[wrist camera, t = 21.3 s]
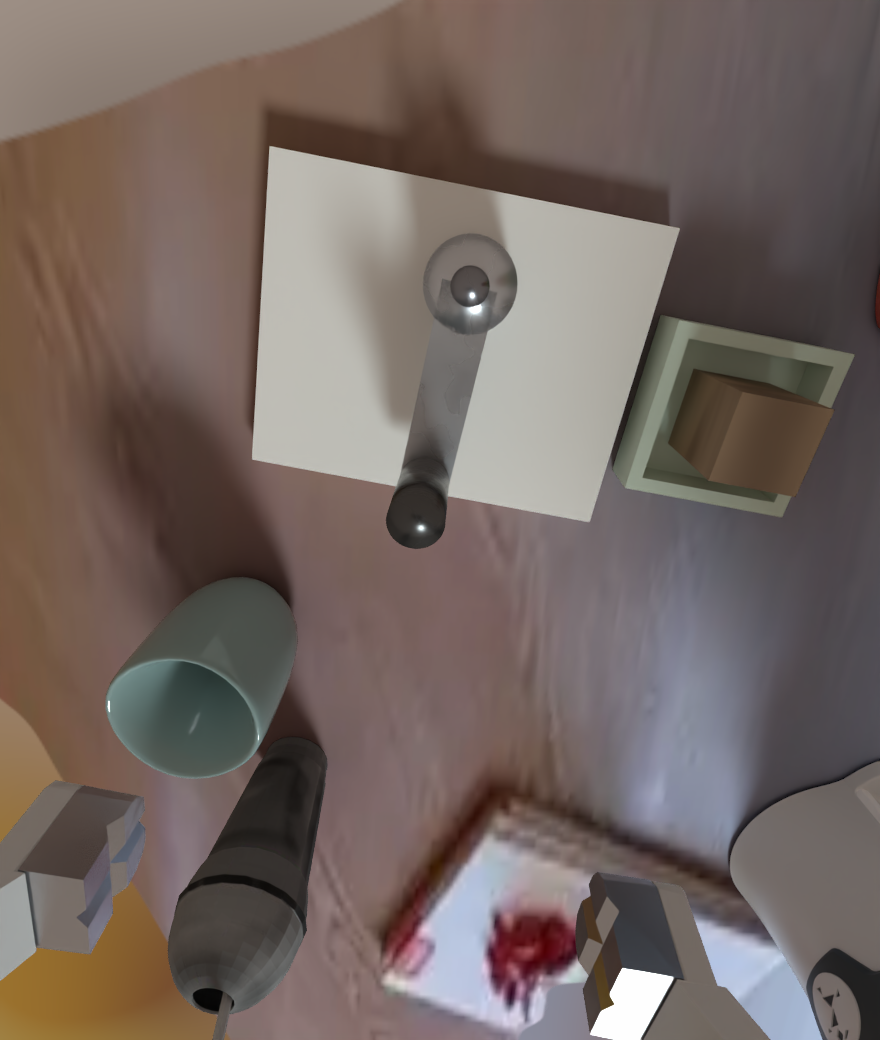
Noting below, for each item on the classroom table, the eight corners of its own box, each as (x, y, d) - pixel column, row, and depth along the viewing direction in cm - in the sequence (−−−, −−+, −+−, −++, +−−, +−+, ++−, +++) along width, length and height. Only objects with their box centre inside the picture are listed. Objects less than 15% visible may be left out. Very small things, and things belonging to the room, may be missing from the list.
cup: (331, 640, 39) (289, 755, 30) (231, 676, 41) (162, 796, 32) (272, 541, 37) (206, 634, 27) (167, 583, 38) (71, 685, 29)
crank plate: (670, 230, 29) (680, 228, 27) (584, 512, 35) (589, 522, 33) (279, 151, 28) (268, 145, 27) (260, 451, 34) (251, 459, 33)
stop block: (769, 383, 31) (834, 409, 25) (740, 457, 32) (795, 496, 27) (693, 368, 31) (742, 392, 25) (667, 443, 32) (708, 480, 27)
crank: (438, 226, 28) (426, 213, 20) (522, 248, 28) (542, 243, 20) (388, 471, 32) (362, 536, 25) (460, 488, 33) (456, 558, 25)
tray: (820, 346, 31) (855, 354, 28) (756, 496, 34) (782, 517, 31) (660, 314, 30) (679, 320, 28) (612, 469, 34) (624, 487, 31)
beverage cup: (250, 713, 42) (79, 1063, 24) (352, 732, 42) (262, 1093, 24) (243, 787, 45) (87, 1151, 27) (339, 805, 45) (250, 1177, 27)
